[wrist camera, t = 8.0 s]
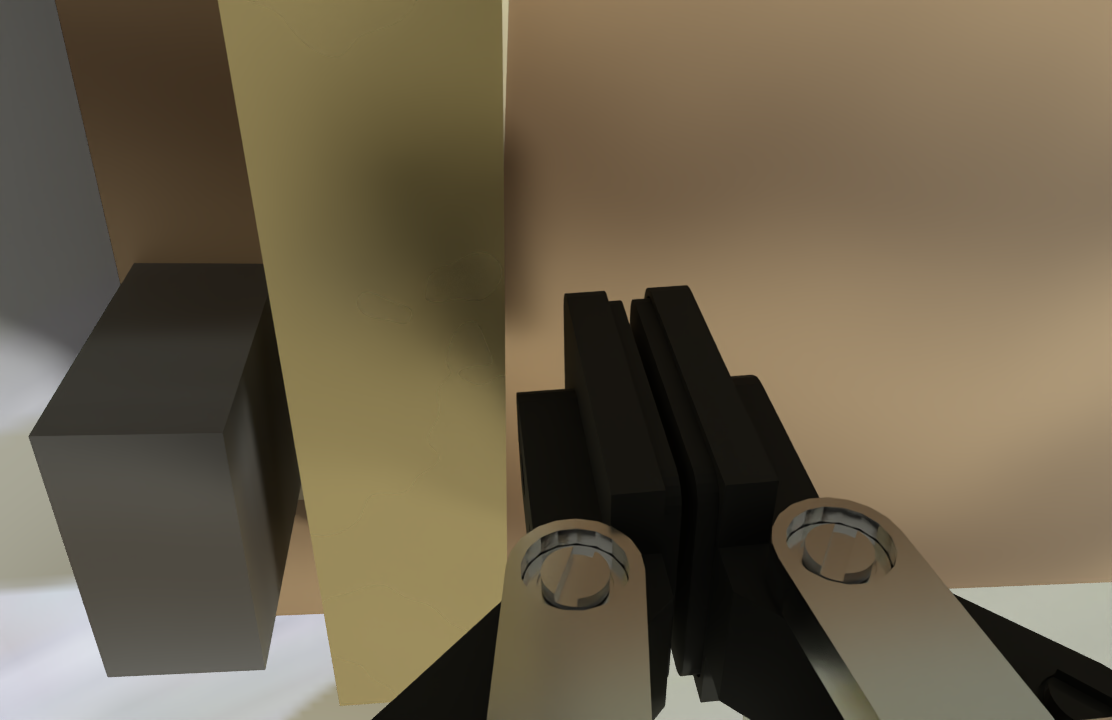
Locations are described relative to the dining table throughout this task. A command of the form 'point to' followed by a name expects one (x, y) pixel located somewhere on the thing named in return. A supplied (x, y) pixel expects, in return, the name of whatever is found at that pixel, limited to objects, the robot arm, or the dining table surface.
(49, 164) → the dining table surface
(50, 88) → the dining table surface
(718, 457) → the robot arm
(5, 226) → the dining table surface
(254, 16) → the bar
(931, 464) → the lock board
